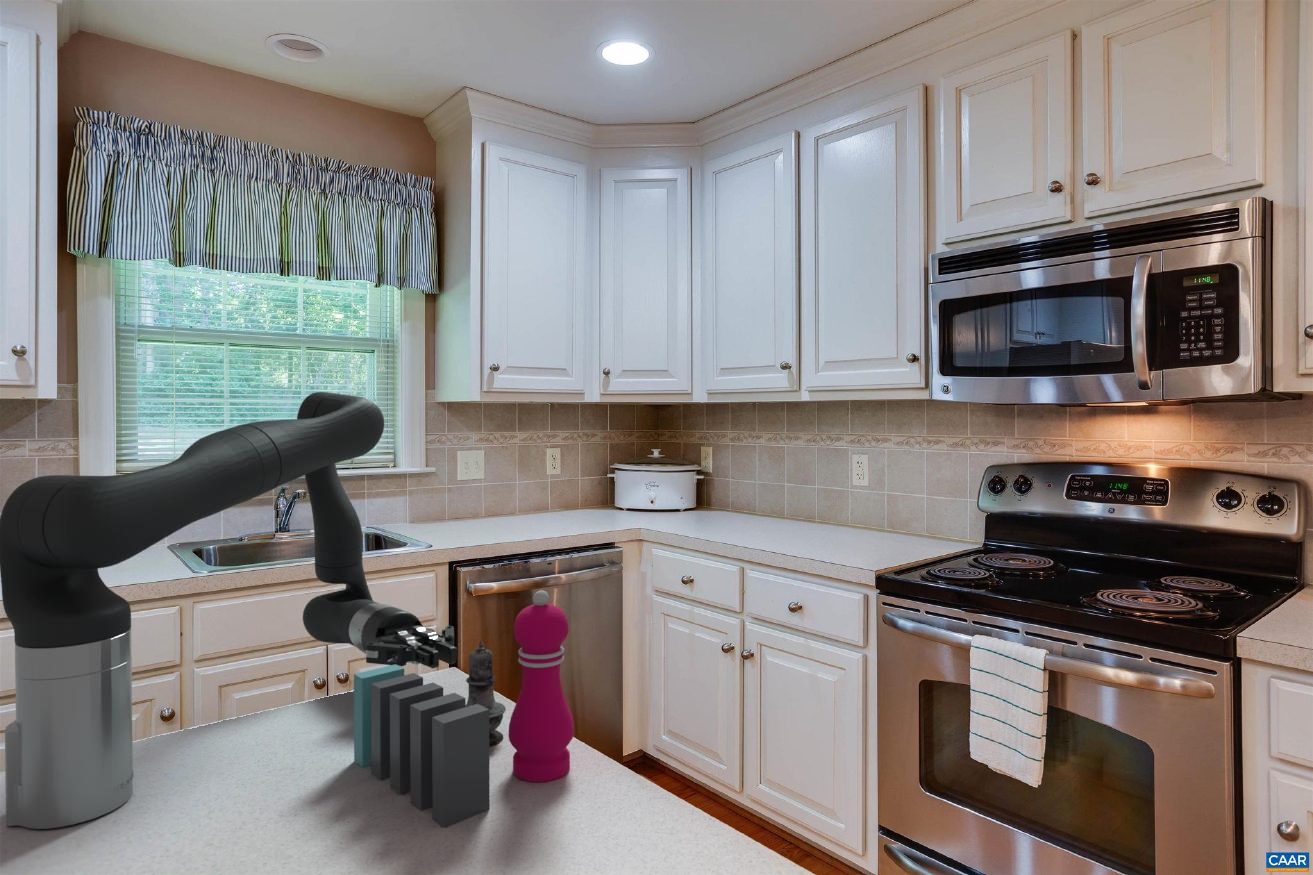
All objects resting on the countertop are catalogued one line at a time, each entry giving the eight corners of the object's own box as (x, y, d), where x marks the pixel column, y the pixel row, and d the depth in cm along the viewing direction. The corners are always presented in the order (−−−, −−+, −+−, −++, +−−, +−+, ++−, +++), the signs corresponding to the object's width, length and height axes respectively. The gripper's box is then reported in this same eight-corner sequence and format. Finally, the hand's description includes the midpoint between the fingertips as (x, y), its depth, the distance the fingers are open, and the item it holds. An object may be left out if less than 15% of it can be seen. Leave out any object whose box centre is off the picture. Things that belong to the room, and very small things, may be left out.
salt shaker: (477, 753, 87) (477, 651, 87) (446, 741, 91) (445, 642, 91) (515, 737, 92) (515, 640, 92) (484, 725, 96) (484, 632, 96)
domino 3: (390, 788, 79) (389, 693, 79) (433, 772, 83) (433, 682, 83) (399, 795, 78) (399, 699, 78) (443, 779, 81) (443, 687, 81)
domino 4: (410, 803, 76) (410, 705, 76) (454, 786, 80) (454, 692, 79) (421, 810, 74) (420, 710, 74) (465, 793, 78) (465, 697, 78)
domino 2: (371, 774, 82) (371, 683, 82) (414, 759, 86) (413, 673, 86) (380, 780, 81) (380, 688, 81) (423, 766, 84) (423, 677, 84)
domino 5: (432, 819, 73) (432, 717, 73) (477, 801, 76) (477, 703, 76) (444, 828, 71) (443, 723, 71) (489, 809, 75) (489, 709, 75)
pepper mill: (587, 765, 85) (587, 588, 84) (545, 791, 78) (544, 600, 78) (538, 750, 88) (538, 581, 88) (494, 774, 82) (494, 592, 82)
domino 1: (354, 761, 86) (353, 673, 85) (396, 748, 89) (395, 664, 89) (362, 767, 84) (362, 678, 84) (404, 753, 88) (404, 668, 87)
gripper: (337, 615, 105) (394, 640, 93) (428, 599, 115) (490, 619, 103) (338, 668, 105) (395, 700, 93) (428, 648, 115) (491, 674, 103)
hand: (445, 657), depth 98 cm, fingers closed
